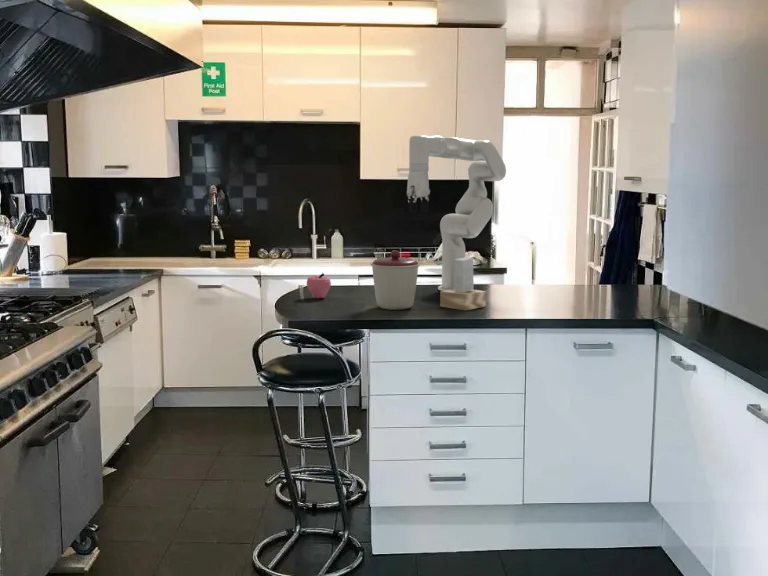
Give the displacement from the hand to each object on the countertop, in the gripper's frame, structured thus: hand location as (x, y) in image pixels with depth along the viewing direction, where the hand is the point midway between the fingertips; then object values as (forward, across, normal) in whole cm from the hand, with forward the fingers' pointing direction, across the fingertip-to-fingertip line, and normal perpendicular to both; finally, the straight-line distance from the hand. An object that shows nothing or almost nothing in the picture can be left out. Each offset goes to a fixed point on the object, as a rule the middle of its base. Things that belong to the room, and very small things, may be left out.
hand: (418, 212), depth 319 cm
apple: (+34, +24, -31) cm, 52 cm away
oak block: (+34, +11, +25) cm, 43 cm away
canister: (+34, +27, +5) cm, 43 cm away
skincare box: (+28, +12, +25) cm, 39 cm away
